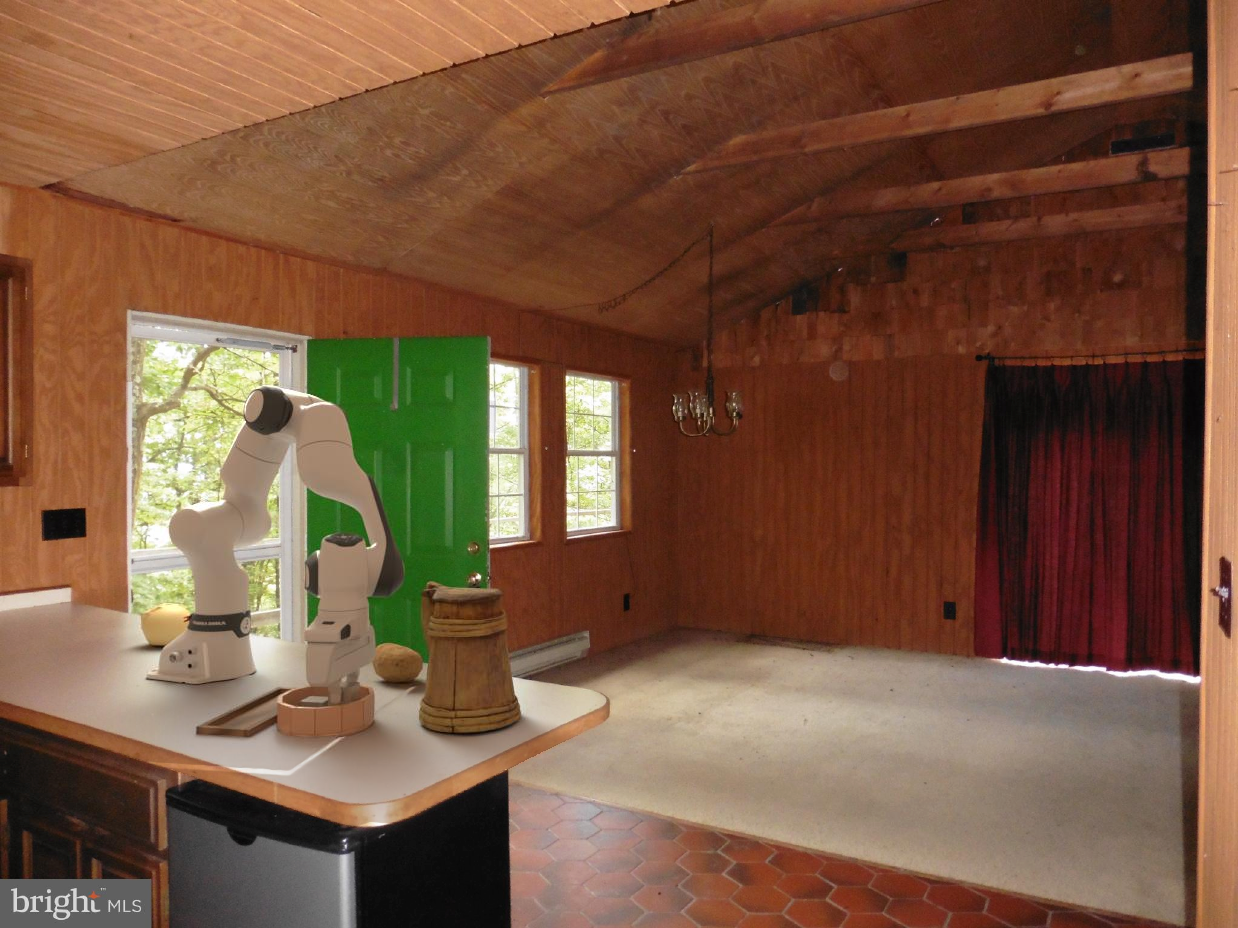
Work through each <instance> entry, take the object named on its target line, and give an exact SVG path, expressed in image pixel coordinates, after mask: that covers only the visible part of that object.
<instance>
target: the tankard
mask: <svg viewBox="0 0 1238 928" xmlns="http://www.w3.org/2000/svg"><path fill="white" fill-rule="evenodd" d="M420 595H421V602H420V603H421V605H420V623H421V629H422V632H423V633H422V634H423V638H424V642H425V644H426V649H427V651H428V653H429V656H428V662H427V670H426V680H425V689H424V694H423V695H424V696H422V698H421V700H420V703H419V704H420V705H419V706H420V707H419V709H418V714H419V715H418V720H419V723H420V724H421V725H422V726H423V727H425V728H426V729H428V730H432V731H435V732H441V733H446V734H447V733H451V734H452V733H455V734H457V733H458V734H467V733H469V734H470V733H479V732H486V731H492V730H496V729H501V728H505V727H507V726H510V725H512V724H514V723H515V722H517V721H518V720H519V719H521V716H522V711H521V705H520V703H519V698H518V697H517V695H516V693H515V692H516V691H515V687H514V681H513V673H512V667H511V660H510V654H509V648H508V639H507V632H506V629H508V621H507V617H506V615H507V614H506V611H505V610H504V609H503V608H502V607H503V606H502V604H501V603H502V602H501V599H500V598H501V597H503V596H504V593H503V592H502V590H500V589H499V588H481V587H478V588H477V587H453V586H452V587H451V586H445V585H444V584H441V583H437V582H435V581H428V582H427V583H426V586H425V589H422V591H421V594H420Z"/></svg>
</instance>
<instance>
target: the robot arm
mask: <svg viewBox="0 0 1238 928" xmlns="http://www.w3.org/2000/svg"><path fill="white" fill-rule="evenodd" d="M243 419H244V422H243V424H242V425H241V427H240V429H239V430H238V432H237V433H236V436H235V438H234V440H233V442H232V444H231V446H230V448H229V450H228V452H227V454H226V456H225V459H224V461H223V463H222V465H221V467H220V470H219V475H220V478H221V480H222V482H223V483H224V485H225V488H224V493H223V496H222V497H221V499H219V501H217V502H216V501H214V502H199V503H195V504H192V505H189V506H186V507H183V508H181V509H179V510H177V511H176V512H175V513H174V514H173V515H172V517H171V519H170V521H169V525H168V535H169V538H170V541H171V542H172V544H173V546H175V547H176V549H178V550H180V551H181V552H182V553H183V554H184V556H185V557H186V559H187V562H188V564H189V566H190V569H191V572H192V576H193V584H194V585H193V587H194V612H192V613H190V614H191V615H190V616H186V617H183V618H187V619H186V620H184V621H183V622H187V621H189V624H188V627H187V628H188V629H187V630H185V631H184V632H183V633H182V634H180V635H179V636H178V637H176V638H175V639H174V640H173V641H171V642H170V643H169V644H167V645H164V646H163V648H162V650H161V652H160V655H159V660H158V666H157V667H155V668H152V669H151V670H149V671H148V672H147V673H146V678H147V679H151V680H159V681H168V682H174V683H175V682H176V683H182V682H185V683H184V684H192V685H198V684H199V685H200V684H204V683H210V682H211V683H212V682H218V681H227V680H233V679H238V678H242V677H244V676H248V675H252V674H253V673H255V672H256V671H257V667H256V665H255V661H254V658H253V651H252V646H251V637H250V636H251V635H250V634H251V626H252V619H251V618H252V616H251V615H252V613H251V612H252V611H251V609H250V607H249V605H250V603H249V602H250V601H249V600H250V598H249V597H250V594H249V593H250V583H249V582H250V580H249V575H248V573H247V572H246V571H245V570H244V569H242V568H240V566H239V565H238V562H237V560H236V556H235V553H234V552H235V551H234V549H239V548H240V549H241V548H247V547H251V546H253V545H255V544H257V543H259V542H261V541H263V540H264V539H265V538H267V536H268V535H269V534H270V532H271V530H272V517H271V514H270V512H269V510H268V499H269V493H270V490H271V488H272V485H273V483H274V481H275V478H276V477H277V475H278V473H279V471H280V468H281V465H282V463H283V462H284V460H285V457H286V455H287V453H288V450H289V448H290V447H291V445H292V444H295V452H296V465H297V472H298V475H299V478H300V480H301V482H302V484H304V486H305V487H306V488H307V489H309V490H310V491H312V492H313V493H314V494H316V495H319V496H320V497H323V498H326V499H331V500H334V501H337V502H340V503H343V504H345V505H347V506H349V507H352V508H353V509H355V510H356V511H357V512H358V513H359V514H360V515H361V518H362V521H363V524H364V528H365V531H366V534H367V538H368V541H369V544H370V546H367V545H366V541H365V538H364V537H362V536H361V535H358V534H356V533H355V534H354V533H349V532H347V533H346V532H338V533H332V534H329V535H326V536H325V537H323V538H322V540H321V542H320V549H319V550H315V551H313V552H312V553H311V554H310V555H309V556H308V557H307V558H306V559H305V561H304V573H305V574H304V576H305V577H304V589H305V591H307V593H309V594H310V595H311V596H313V597H315V598H318V599H319V603H318V605H317V606H318V607H317V615H316V616H315V618H314V620H313V621H312V622H311V623H310V624H309V625H308V626H307V628H306V629H305V631H304V641H305V642H308V644H307V645H306V650H305V651H306V652H305V673H306V674H305V675H306V681H307V683H308V684H309V685H310V686H315V687H328V689H329V692H330V694H331V703H336V704H338V703H340V702H342V701H343V699H344V697H343V696H344V692H341V688H340V684H341V682H342V679H344V678H345V677H346V680H345V682H359V677H360V671H361V670H360V669H362V668H364V667H365V666H368V664H372V662H373V661H374V658H375V654H376V637H375V636H376V635H375V629H374V627H373V625H371V620H370V611H369V610H370V608H369V607H370V604H369V603H370V602H369V599H368V597H371V598H390V597H391V596H392V595H393V594H394V593H396V591H397V592H398V590H399V589H400V587H402V585H403V584H404V580H405V565H404V561H403V558H402V555H401V553H400V551H399V548H398V546H397V544H396V541H395V538H394V535H393V533H392V529H391V527H390V523H389V520H388V517H387V513H386V510H385V508H384V505H383V501H382V499H381V498H382V497H381V495H380V492H379V489H378V487H377V484H376V482H375V479H373V476H372V475H369V473H366V472H364V471H363V469H362V468H361V467H360V465H359V464H358V463H357V460H356V458H355V456H354V449H353V441H352V435H351V432H350V428H349V419H348V414H347V413H346V411H345V410H344V409H343V408H342V407H340V406H339V405H337V404H335V403H334V402H331V401H326V400H324V399H322V398H320V397H317V396H314V395H311V394H308V393H306V392H305V393H304V392H299V391H295V390H291V389H285V388H281V387H280V386H277V385H266V384H265V385H264V384H263V385H258V386H257V387H256V388H254V389H253V390H252V391H251V392H250V393H249V395H248V396H247V397H246V400H245V402H244V406H243ZM309 685H308V686H309Z"/></svg>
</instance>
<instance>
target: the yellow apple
mask: <svg viewBox="0 0 1238 928" xmlns="http://www.w3.org/2000/svg"><path fill="white" fill-rule="evenodd" d="M191 614H192V613H191V612H190V611H189V610H188V607H187V605H186V606H185V605H183V604H181V603H171V602H170V603H168V602H167V603H161V604H159V605H157V606H155V607H153V608H150V609H148V610H145V611H144V612H142V613H141V614H140V621H141V622H140V629H141V630H142V633H143V635H144V638H145V640H146V641H147V643H148V644H149V645H150V646H166V645H167V644H169V643H170V642H171V641H173V640H174V639H175V638H176V637H178V636H179V635H180V634H182V633H183V632H184V631H185V630H187V629H188V628H187V627H188V624H189V621H187V622H183V621H184V620H186V619H187V618H183V617H186V616H190V615H191Z"/></svg>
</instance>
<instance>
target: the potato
mask: <svg viewBox="0 0 1238 928" xmlns="http://www.w3.org/2000/svg"><path fill="white" fill-rule="evenodd" d="M375 649H376V654H375V658H374V661H373V662H371V664H372V666H373V668H374V672H375V674H376V675H377V676H378V677H380V678H382V679H383V680H384V681H386V682H388V683H394V684H395V683H410V682H411V681H412V680H414V679H416V678H418V677H419V675H420V674H421V672H422V670H423V669H424V667H423V666H424V661H423V658H422V656H421V654H420V653H419V652H418V651H415V650H413V649H412V648H409V647H407V646H405V645H404V646H403V645H400V644H396V643H391V642H387V643H386V642H385V643H382V644H378V645H377V646H376V647H375Z"/></svg>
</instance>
